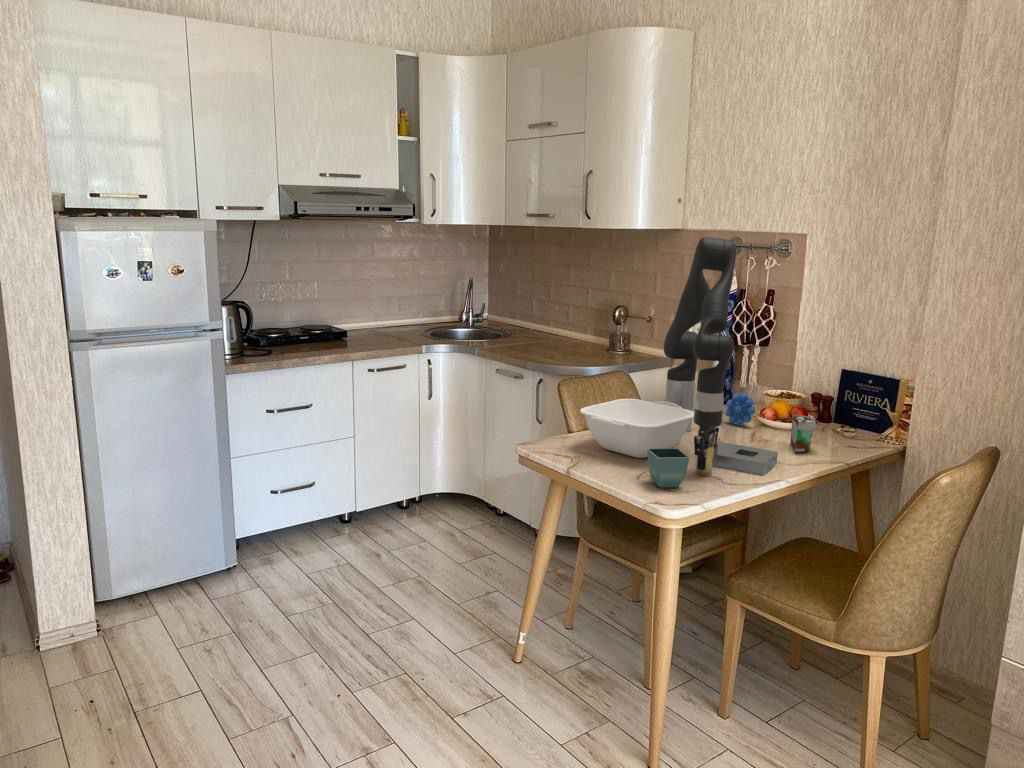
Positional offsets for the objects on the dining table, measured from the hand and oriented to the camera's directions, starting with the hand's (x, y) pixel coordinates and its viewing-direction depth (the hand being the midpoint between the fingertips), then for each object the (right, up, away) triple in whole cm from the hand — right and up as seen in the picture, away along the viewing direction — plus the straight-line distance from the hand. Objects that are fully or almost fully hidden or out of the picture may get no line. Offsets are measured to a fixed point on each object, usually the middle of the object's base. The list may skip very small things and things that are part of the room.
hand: (704, 466), depth 216 cm
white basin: (-16, +3, +22) cm, 27 cm away
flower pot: (-12, -4, -9) cm, 16 cm away
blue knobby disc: (+26, +8, +54) cm, 61 cm away
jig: (+13, 0, +11) cm, 17 cm away
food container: (+37, +2, +26) cm, 45 cm away
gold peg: (0, -2, 0) cm, 2 cm away
